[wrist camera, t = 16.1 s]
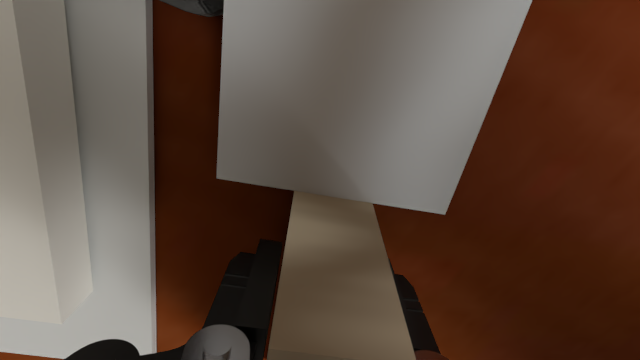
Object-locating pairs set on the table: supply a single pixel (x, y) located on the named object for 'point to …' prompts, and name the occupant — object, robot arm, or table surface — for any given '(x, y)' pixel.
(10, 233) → the tile
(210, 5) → the phone
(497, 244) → the table surface
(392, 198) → the scraper
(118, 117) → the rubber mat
